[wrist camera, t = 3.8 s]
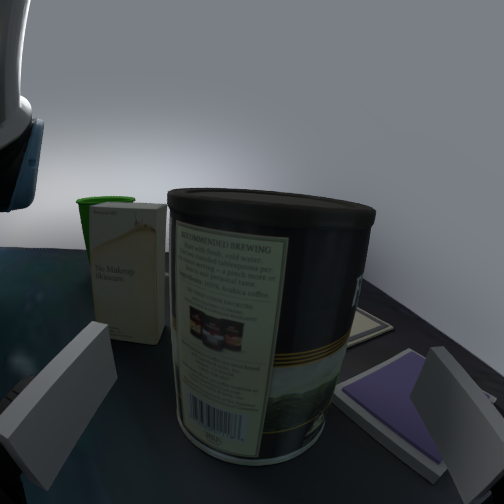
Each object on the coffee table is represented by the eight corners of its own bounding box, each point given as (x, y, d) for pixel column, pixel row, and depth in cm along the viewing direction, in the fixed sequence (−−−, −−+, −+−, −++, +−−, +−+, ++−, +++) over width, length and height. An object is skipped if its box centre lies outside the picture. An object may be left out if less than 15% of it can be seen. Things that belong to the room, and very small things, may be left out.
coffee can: (312, 368, 23) (341, 197, 20) (337, 465, 13) (417, 220, 10) (190, 360, 23) (192, 184, 19) (159, 455, 13) (131, 194, 9)
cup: (141, 264, 46) (141, 196, 43) (128, 284, 37) (126, 202, 34) (91, 262, 44) (89, 196, 41) (71, 281, 35) (65, 202, 33)
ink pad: (325, 397, 19) (329, 385, 19) (406, 355, 25) (409, 345, 24) (433, 484, 10) (442, 473, 10) (492, 406, 15) (498, 395, 15)
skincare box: (97, 338, 24) (84, 206, 21) (112, 317, 28) (105, 200, 25) (160, 346, 24) (156, 207, 21) (168, 322, 29) (168, 202, 26)
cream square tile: (228, 301, 35) (228, 298, 35) (317, 287, 42) (318, 285, 42) (296, 365, 23) (297, 361, 23) (392, 329, 30) (393, 326, 30)
